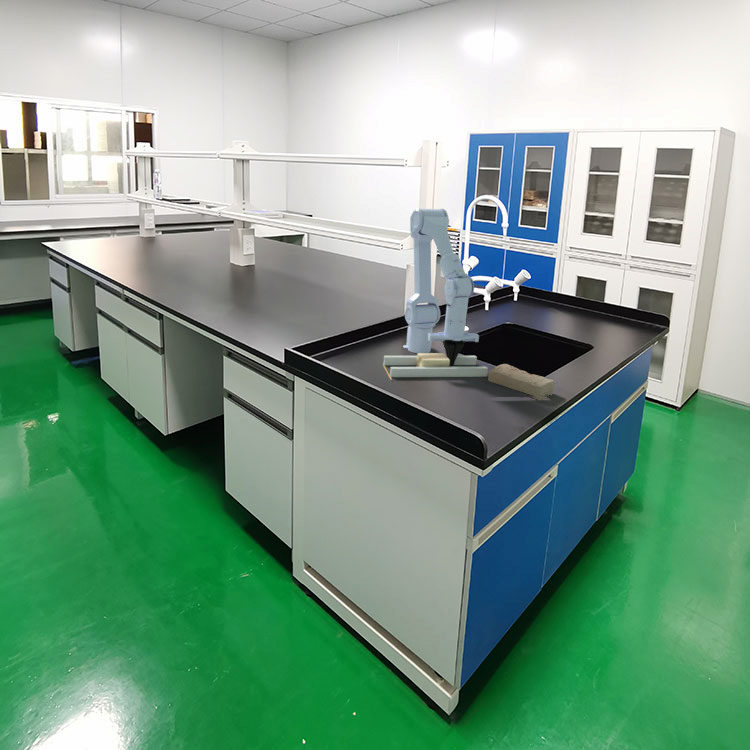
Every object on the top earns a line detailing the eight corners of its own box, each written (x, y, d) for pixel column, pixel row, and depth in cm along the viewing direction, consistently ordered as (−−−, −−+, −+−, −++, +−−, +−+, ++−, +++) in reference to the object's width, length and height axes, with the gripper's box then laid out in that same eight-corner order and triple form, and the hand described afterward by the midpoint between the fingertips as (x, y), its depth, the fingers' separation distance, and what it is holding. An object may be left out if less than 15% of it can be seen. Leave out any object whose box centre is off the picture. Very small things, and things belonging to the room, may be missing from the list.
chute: (382, 365, 176) (383, 355, 175) (473, 365, 182) (474, 355, 180) (391, 380, 165) (391, 369, 164) (487, 379, 171) (488, 369, 169)
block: (416, 366, 175) (417, 353, 174) (442, 366, 177) (443, 353, 175) (421, 373, 170) (422, 360, 168) (448, 373, 171) (449, 360, 170)
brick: (554, 394, 164) (557, 378, 162) (540, 402, 158) (542, 385, 156) (501, 377, 174) (503, 362, 172) (486, 384, 168) (488, 369, 166)
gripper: (434, 323, 164) (429, 369, 168) (484, 323, 166) (478, 369, 171) (427, 316, 170) (423, 361, 175) (476, 316, 173) (470, 361, 178)
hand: (450, 364), depth 174 cm, fingers closed
